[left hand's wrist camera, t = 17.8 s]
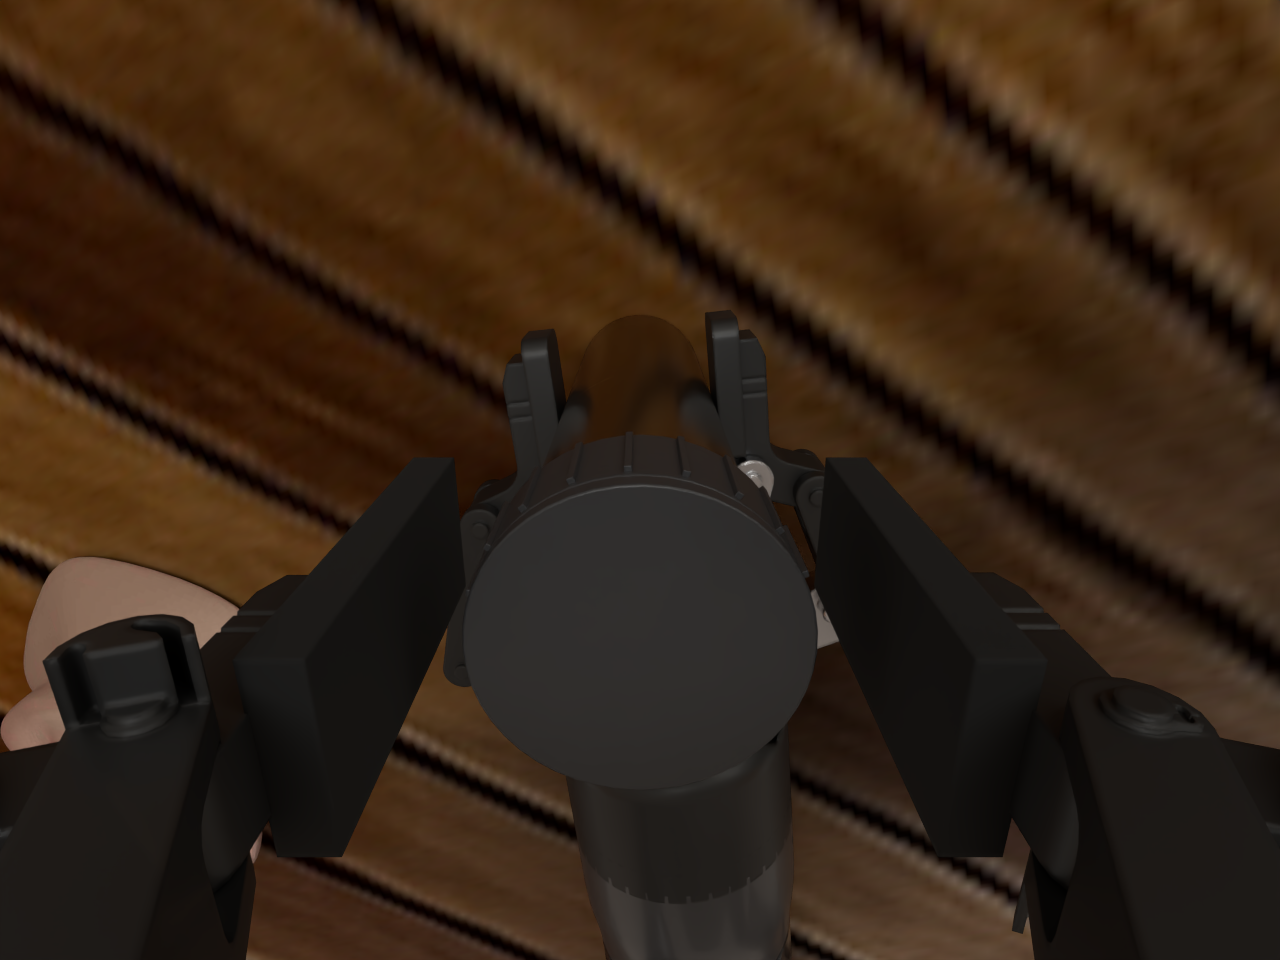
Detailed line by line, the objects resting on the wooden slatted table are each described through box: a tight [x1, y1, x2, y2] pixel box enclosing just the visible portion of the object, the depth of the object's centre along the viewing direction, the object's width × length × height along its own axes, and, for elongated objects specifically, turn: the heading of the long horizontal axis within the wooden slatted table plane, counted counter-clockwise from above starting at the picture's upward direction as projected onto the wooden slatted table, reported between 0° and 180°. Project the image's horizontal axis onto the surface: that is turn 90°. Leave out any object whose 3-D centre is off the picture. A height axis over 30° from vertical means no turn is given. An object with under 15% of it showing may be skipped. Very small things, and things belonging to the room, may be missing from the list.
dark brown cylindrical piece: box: [543, 315, 737, 466], centre depth 19 cm, size 4×4×17 cm
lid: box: [462, 432, 818, 790], centre depth 11 cm, size 5×5×2 cm
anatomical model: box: [1, 557, 262, 863], centre depth 30 cm, size 13×4×12 cm
